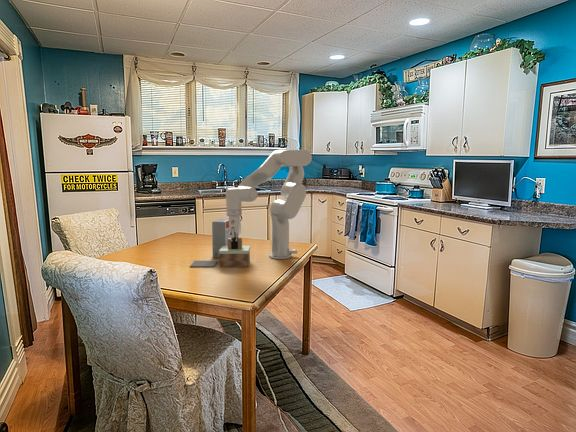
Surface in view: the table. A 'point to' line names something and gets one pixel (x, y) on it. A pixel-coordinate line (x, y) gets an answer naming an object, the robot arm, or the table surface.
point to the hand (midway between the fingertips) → (235, 247)
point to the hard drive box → (220, 235)
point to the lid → (228, 249)
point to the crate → (234, 260)
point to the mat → (203, 264)
